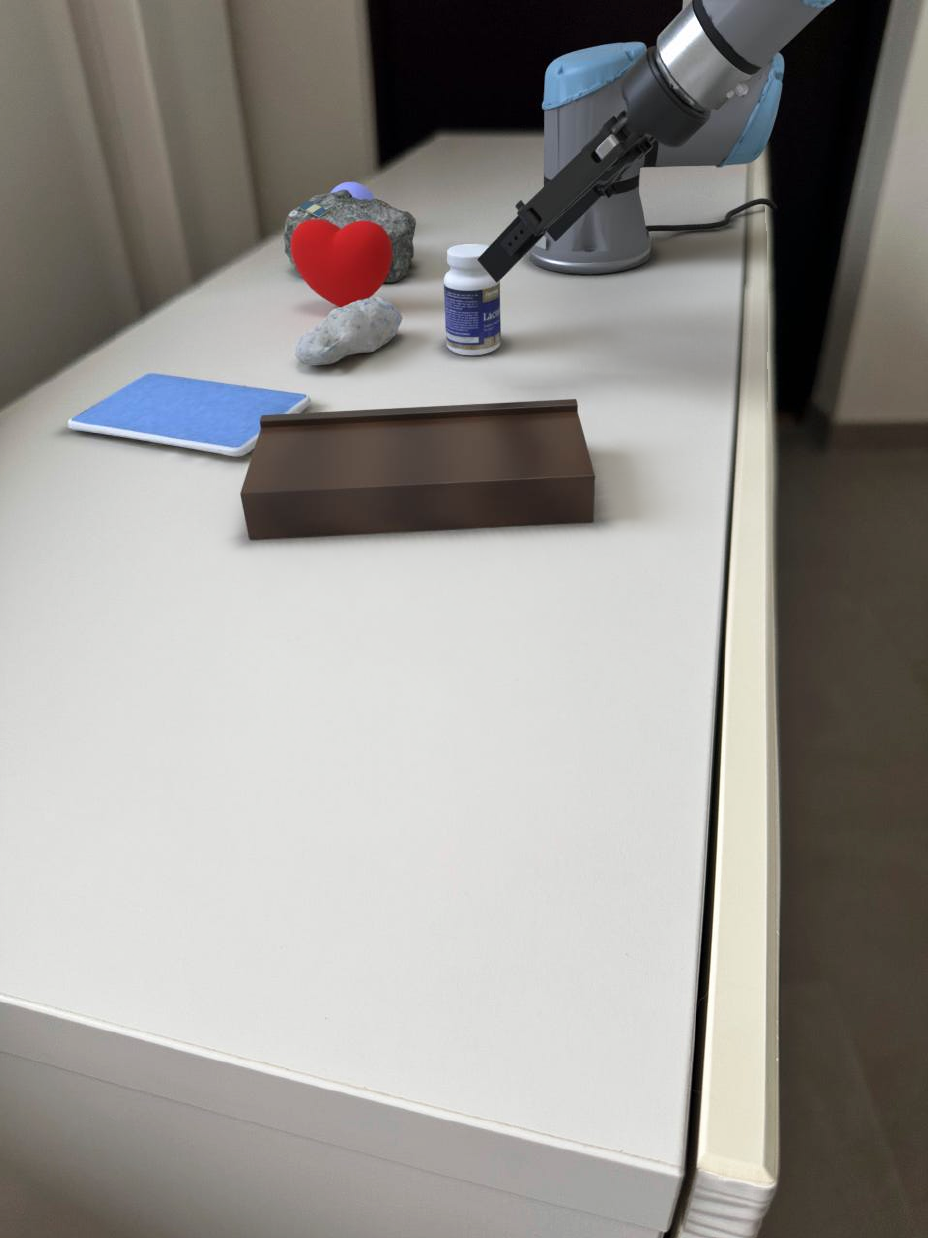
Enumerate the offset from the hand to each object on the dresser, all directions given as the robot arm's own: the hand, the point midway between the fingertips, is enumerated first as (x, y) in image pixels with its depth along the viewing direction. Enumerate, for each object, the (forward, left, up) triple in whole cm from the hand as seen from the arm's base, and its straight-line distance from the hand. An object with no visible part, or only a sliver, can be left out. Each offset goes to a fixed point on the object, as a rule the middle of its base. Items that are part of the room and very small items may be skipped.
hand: (519, 249), depth 98 cm
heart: (+5, -24, -11) cm, 27 cm away
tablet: (+32, -10, -11) cm, 35 cm away
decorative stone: (+12, -13, -11) cm, 21 cm away
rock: (-4, -36, -11) cm, 38 cm away
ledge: (+25, +16, -10) cm, 31 cm away
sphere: (-13, -49, -11) cm, 52 cm away
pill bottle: (+2, -5, -11) cm, 12 cm away
